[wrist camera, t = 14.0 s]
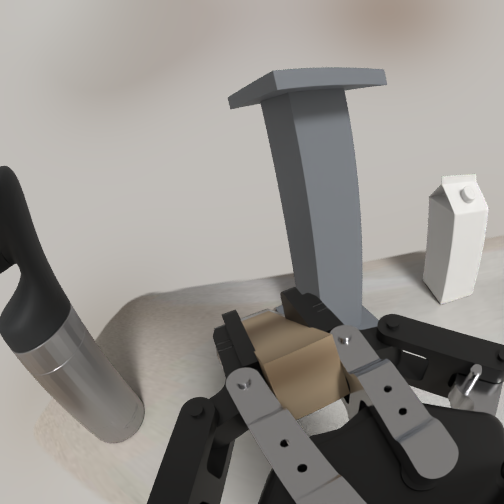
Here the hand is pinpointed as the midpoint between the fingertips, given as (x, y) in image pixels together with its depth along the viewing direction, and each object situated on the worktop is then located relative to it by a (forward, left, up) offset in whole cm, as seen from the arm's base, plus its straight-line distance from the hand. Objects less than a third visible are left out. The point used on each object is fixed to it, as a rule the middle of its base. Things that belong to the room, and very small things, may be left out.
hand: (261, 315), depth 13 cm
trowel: (-2, +3, -5) cm, 6 cm away
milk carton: (+24, +25, -20) cm, 40 cm away
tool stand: (+3, +19, -20) cm, 28 cm away
